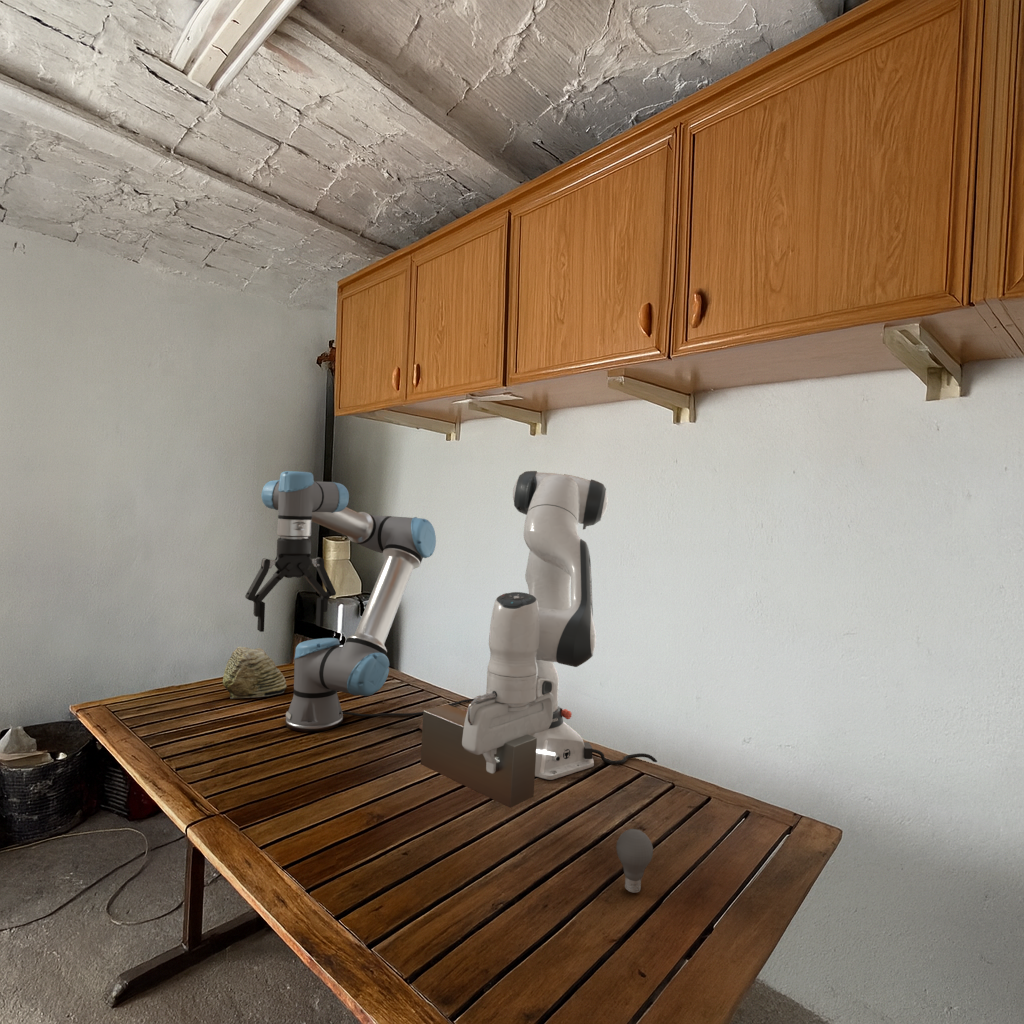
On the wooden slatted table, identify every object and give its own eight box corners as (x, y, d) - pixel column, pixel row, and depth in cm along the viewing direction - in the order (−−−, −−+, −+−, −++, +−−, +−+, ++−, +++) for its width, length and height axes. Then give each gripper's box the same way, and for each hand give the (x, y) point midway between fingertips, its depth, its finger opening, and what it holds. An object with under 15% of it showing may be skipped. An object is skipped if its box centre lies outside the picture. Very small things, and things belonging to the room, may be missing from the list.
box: (420, 764, 122) (423, 710, 121) (444, 755, 126) (447, 704, 126) (510, 808, 106) (513, 746, 106) (533, 796, 111) (537, 737, 111)
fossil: (218, 695, 195) (220, 647, 195) (278, 685, 208) (279, 640, 207) (228, 703, 189) (230, 653, 188) (289, 692, 201) (290, 645, 201)
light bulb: (610, 879, 108) (613, 822, 108) (644, 879, 109) (647, 822, 109) (619, 902, 102) (622, 840, 102) (655, 901, 103) (658, 840, 103)
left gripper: (241, 538, 137) (238, 636, 138) (351, 538, 152) (348, 626, 152) (233, 536, 143) (230, 629, 144) (339, 536, 158) (336, 621, 159)
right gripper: (483, 703, 101) (478, 789, 101) (560, 680, 116) (556, 755, 116) (456, 693, 105) (451, 776, 105) (534, 673, 120) (530, 745, 121)
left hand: (290, 628), depth 148 cm, fingers open, 13 cm apart
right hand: (507, 765), depth 111 cm, fingers closed on box, 6 cm apart
